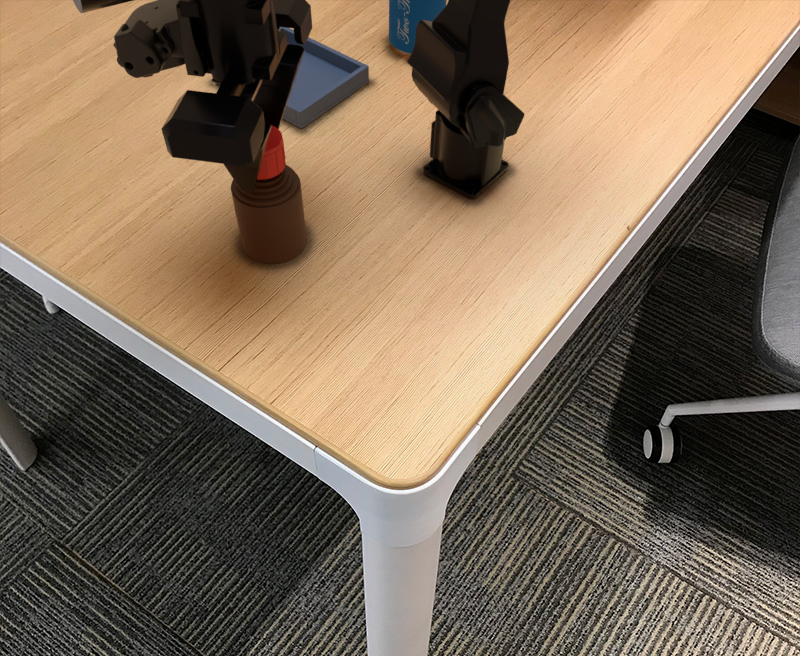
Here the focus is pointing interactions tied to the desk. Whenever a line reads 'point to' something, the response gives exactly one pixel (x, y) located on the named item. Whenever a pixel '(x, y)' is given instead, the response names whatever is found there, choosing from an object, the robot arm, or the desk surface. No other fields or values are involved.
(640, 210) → the desk surface
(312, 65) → the tray
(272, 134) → the cap
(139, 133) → the desk surface
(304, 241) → the bottle
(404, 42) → the beverage can
